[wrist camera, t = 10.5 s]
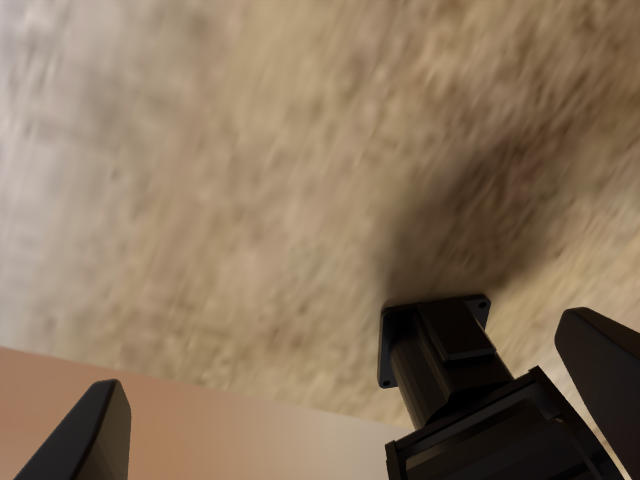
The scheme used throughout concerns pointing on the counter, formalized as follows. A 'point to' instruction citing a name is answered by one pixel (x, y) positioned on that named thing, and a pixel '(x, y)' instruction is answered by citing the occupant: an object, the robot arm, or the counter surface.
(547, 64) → the counter surface
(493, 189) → the counter surface
